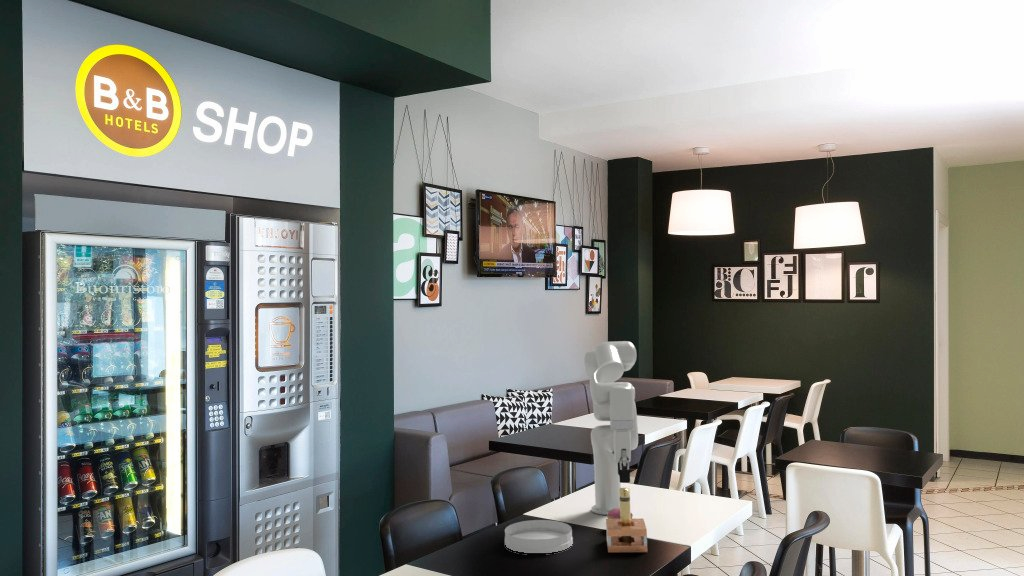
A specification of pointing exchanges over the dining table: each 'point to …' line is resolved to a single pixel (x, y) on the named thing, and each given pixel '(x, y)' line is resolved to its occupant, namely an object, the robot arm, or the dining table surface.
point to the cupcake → (615, 514)
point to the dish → (538, 536)
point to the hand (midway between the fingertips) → (623, 478)
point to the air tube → (625, 511)
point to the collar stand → (635, 531)
